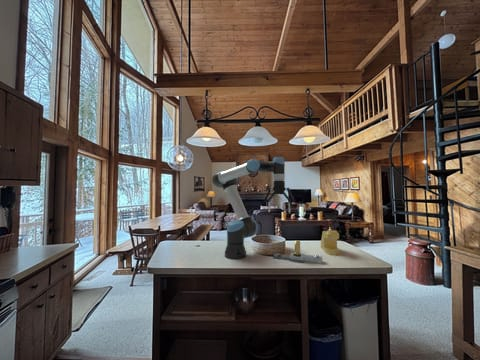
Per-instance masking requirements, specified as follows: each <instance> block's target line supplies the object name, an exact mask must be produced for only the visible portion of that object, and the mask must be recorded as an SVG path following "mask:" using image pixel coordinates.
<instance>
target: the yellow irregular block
mask: <svg viewBox="0 0 480 360" xmlns="http://www.w3.org/2000/svg"><path fill="white" fill-rule="evenodd" d="M338 240H340V233H339V232H338V230H333V229H328V230H322V234H321V241H320V248H321V249H322V250H323V252H324V253H325V254H327V255H330V256H339V255H340V248H338Z"/></svg>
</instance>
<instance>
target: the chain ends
mask: <svg viewBox="0 0 480 360" xmlns="http://www.w3.org/2000/svg"><path fill="white" fill-rule="evenodd" d="M272 259H278V260H285V261H286V260H287V261H288V260H289V261H290V262H297V263H304V262H305V263H311V262H312V263H313V264H320V263H321V264H323V263H324V262H323V256H322V255H321V256H320V255H318V254H314V255H311V254H310V255H309V254H305V253H301V252H300V256H295V252H290V254H282V253H274V254H273V257H272ZM321 264H320V265H321Z"/></svg>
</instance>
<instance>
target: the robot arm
mask: <svg viewBox="0 0 480 360" xmlns="http://www.w3.org/2000/svg"><path fill="white" fill-rule="evenodd" d="M257 172H258V173H260V174H261V173H263V174H266V173H273V175H272V177H273V178H272V179H273V182H272V183H273V184H272V185H273V187H268V189H267V190H268V192H267V193H266V194H265V197H264V199H263V201H264V202H266V207H267V209H268V211H267V212H268V213H270V212H271V202H270V201H271V200H272V199H273V198H274V196H275V195H283V197H285V198H286V200H287V201H288V213H289V214H290V213H291V209H292V208H293V203H294V202H296V200H295V198H294V196H293V194H292V192H291V189H290V187H286V184H285V183H286V182H285V177H286V176H285V175H286V173H285V158H284V157H282V156H281V157H279V156H278V157H277V156H276V157H273V160H272V161H264V160H258V159H255V158H254V159H248V161H247V162H246V163H243V164H241V165H238V166H236V167H231V168H230V169H228V170H224V171H223V170H222V171H218V172H215V173H214V174H213V175H212V177H211V181H212V182H211V183H212V184H213V186H215V187H216V188H220V189H222V190H223V191H224V193H226V194H227V196H228V199H229V202H230V204H231V207H232V209H233V212H234V214H235V217H236V219H237V220H232V221H230V222H228V223H227V227H226V247H225V250H224V257H225V258H227V259H233V260H237V259H238V260H239V259H243V258H245V257H247V251H246V247H245V239H247V238H252V237H254V236H256V234H257V233H258V231H259V226H258V223H257V221H255V220H253V219H252V216H250V215H249V214H248V212H247V209H246V208H245V205H244V203H243V200H242V198H241V195H240V194H239V192H238V184H239V183H238V182H239V180H238V178H241V177H244V176H246V175H250V174H253V173H257ZM272 191H273V193H271V192H272ZM285 191H287V193H288V195H289V196H288V195H287V193H286V192H285Z"/></svg>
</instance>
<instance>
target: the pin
mask: <svg viewBox="0 0 480 360" xmlns="http://www.w3.org/2000/svg"><path fill="white" fill-rule="evenodd" d="M294 253H295V256H300V253H301V240H294Z"/></svg>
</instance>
